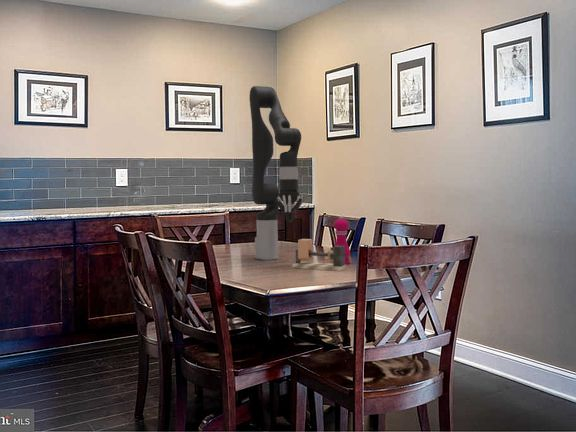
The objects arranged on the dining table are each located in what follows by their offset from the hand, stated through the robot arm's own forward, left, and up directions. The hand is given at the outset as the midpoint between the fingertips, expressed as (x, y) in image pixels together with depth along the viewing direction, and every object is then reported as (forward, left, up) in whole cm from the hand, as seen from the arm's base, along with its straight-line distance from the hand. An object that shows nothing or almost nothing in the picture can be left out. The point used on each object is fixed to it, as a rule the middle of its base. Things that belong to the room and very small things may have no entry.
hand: (289, 221), depth 227 cm
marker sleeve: (+7, 0, -15) cm, 16 cm away
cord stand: (+13, 0, -18) cm, 22 cm away
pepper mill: (+16, +15, -18) cm, 29 cm away
